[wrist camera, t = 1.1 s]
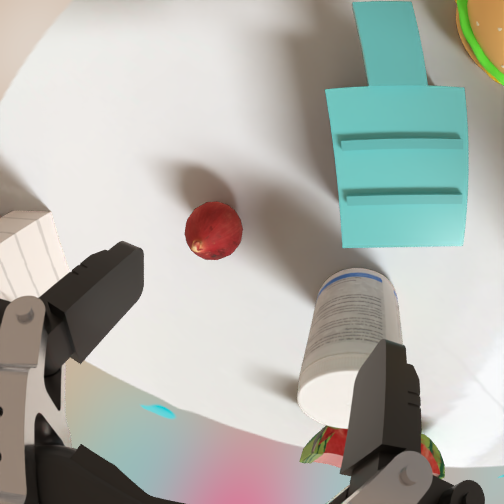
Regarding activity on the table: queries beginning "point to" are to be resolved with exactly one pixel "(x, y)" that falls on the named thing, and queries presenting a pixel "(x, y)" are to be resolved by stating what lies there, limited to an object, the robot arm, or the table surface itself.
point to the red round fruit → (213, 231)
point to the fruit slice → (333, 444)
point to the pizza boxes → (29, 254)
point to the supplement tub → (345, 341)
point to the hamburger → (483, 34)
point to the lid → (398, 141)
